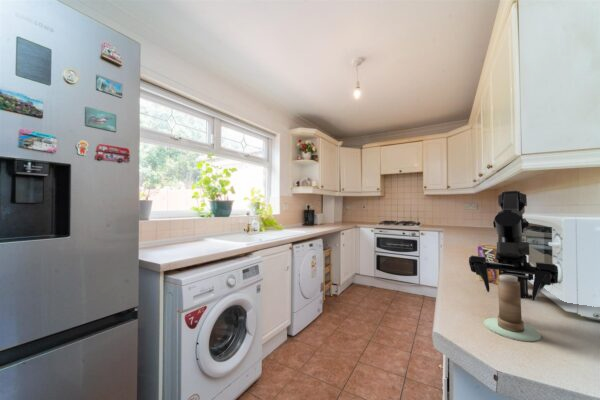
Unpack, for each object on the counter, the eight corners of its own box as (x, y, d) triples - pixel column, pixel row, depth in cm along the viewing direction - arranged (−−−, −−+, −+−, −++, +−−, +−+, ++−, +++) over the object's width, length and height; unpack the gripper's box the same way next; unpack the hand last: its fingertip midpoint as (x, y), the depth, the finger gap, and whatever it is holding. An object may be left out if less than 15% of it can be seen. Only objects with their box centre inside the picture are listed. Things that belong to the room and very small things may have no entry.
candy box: (509, 284, 97) (507, 246, 97) (503, 286, 95) (501, 247, 95) (484, 278, 105) (482, 243, 105) (478, 280, 103) (476, 244, 103)
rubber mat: (513, 319, 68) (513, 317, 68) (554, 341, 57) (554, 338, 57) (474, 319, 68) (474, 318, 68) (507, 341, 57) (507, 339, 57)
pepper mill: (511, 322, 65) (509, 273, 65) (530, 332, 60) (527, 279, 60) (492, 322, 65) (490, 273, 65) (509, 332, 60) (506, 279, 60)
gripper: (468, 229, 75) (463, 272, 67) (555, 232, 62) (562, 287, 54) (473, 250, 80) (469, 293, 72) (554, 257, 68) (560, 310, 59)
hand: (509, 295), depth 64 cm, fingers open, 9 cm apart
